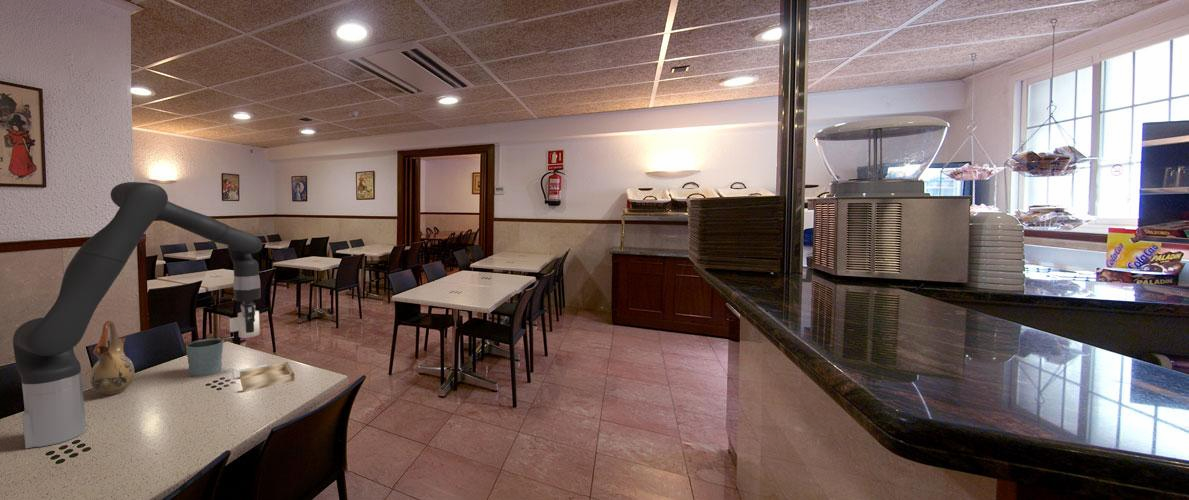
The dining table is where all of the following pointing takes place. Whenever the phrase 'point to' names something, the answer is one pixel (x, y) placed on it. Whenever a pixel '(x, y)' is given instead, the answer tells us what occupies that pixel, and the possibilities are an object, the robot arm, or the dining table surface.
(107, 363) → the ceramic vessel
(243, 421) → the dining table surface
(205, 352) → the teal plant pot
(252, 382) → the beech holder
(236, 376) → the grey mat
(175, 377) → the dining table surface
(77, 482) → the dining table surface
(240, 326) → the cream jug
